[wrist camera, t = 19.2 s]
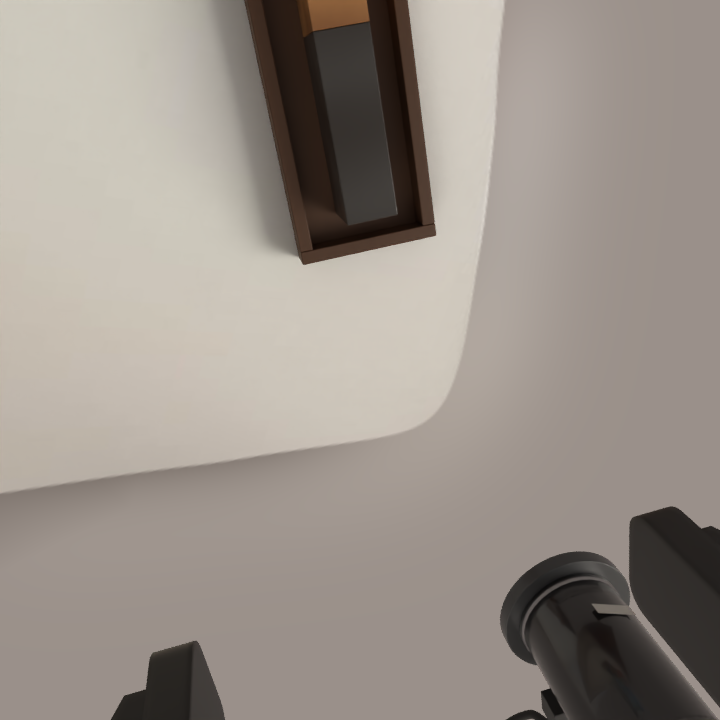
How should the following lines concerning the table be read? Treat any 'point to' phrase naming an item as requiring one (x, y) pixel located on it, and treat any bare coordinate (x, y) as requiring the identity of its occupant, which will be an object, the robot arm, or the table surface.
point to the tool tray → (304, 140)
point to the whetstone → (349, 107)
